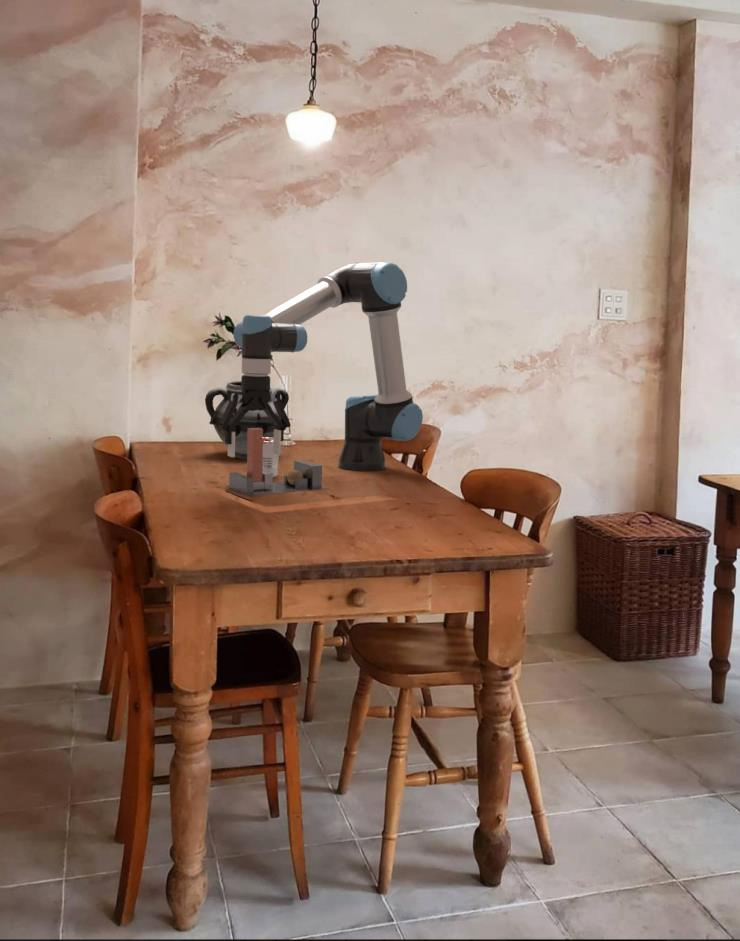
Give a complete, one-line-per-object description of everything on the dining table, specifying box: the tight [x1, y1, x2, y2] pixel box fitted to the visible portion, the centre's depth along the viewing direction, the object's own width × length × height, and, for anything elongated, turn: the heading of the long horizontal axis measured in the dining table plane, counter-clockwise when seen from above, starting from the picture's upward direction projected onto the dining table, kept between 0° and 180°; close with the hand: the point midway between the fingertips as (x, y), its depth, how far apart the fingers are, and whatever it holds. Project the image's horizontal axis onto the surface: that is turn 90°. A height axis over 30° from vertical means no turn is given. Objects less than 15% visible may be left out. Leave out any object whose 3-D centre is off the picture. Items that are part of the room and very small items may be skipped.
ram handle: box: [246, 428, 274, 490], centre depth 246 cm, size 7×4×16 cm, turn 125°
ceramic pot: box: [204, 380, 290, 460], centre depth 308 cm, size 29×23×25 cm
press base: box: [225, 459, 328, 502], centre depth 251 cm, size 24×14×8 cm, turn 125°
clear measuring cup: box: [262, 437, 280, 478], centre depth 268 cm, size 10×8×12 cm
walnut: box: [286, 469, 303, 486], centre depth 254 cm, size 4×4×4 cm
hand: (254, 455), depth 245 cm, fingers open, 13 cm apart
